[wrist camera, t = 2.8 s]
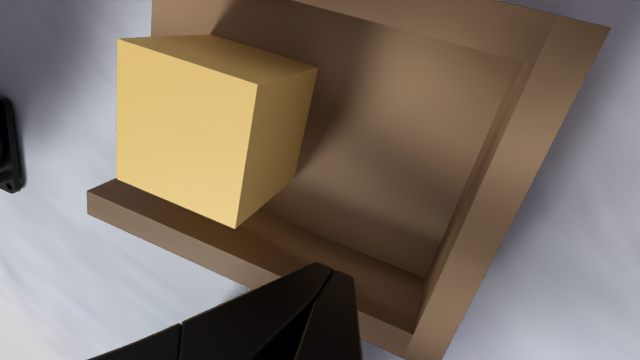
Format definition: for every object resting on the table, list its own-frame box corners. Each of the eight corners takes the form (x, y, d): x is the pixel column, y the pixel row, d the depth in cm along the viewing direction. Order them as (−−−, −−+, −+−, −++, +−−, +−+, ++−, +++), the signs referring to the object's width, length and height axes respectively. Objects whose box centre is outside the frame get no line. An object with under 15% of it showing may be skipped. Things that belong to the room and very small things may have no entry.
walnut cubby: (444, 294, 19) (434, 372, 15) (160, 177, 22) (87, 213, 18) (569, 26, 14) (611, 28, 9) (175, -70, 17) (76, -99, 13)
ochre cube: (294, 178, 18) (235, 229, 14) (199, 143, 19) (116, 178, 15) (318, 66, 16) (257, 84, 11) (210, 34, 17) (117, 38, 13)
